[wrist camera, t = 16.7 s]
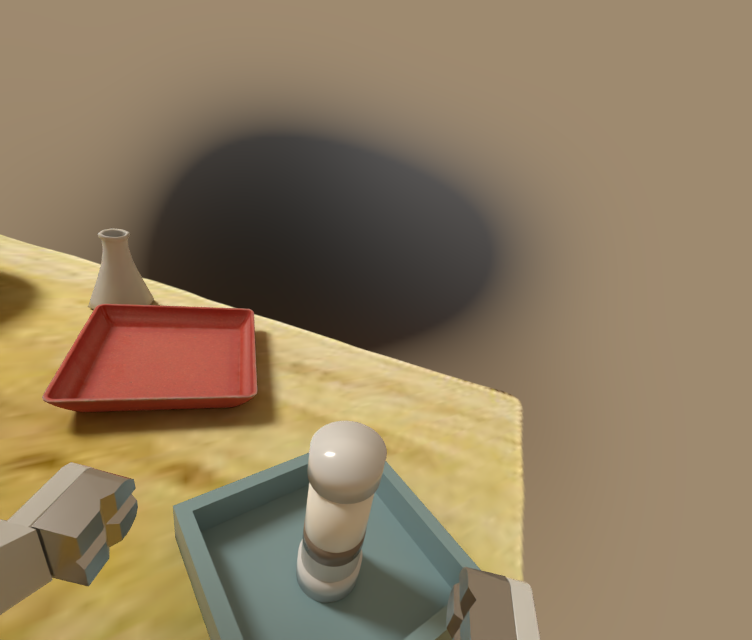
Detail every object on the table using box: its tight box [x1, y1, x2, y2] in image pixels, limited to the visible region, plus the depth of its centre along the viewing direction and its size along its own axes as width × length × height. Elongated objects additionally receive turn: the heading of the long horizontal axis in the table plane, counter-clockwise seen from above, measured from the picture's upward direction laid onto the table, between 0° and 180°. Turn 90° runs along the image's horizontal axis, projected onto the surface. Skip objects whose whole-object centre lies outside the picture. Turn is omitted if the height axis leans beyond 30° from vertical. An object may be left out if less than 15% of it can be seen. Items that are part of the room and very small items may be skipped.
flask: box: [88, 229, 154, 310], centre depth 55 cm, size 7×7×10 cm
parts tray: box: [173, 453, 480, 640], centre depth 30 cm, size 16×16×4 cm
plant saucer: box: [42, 304, 257, 412], centre depth 48 cm, size 18×18×3 cm
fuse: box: [296, 421, 387, 603], centre depth 27 cm, size 4×4×12 cm
